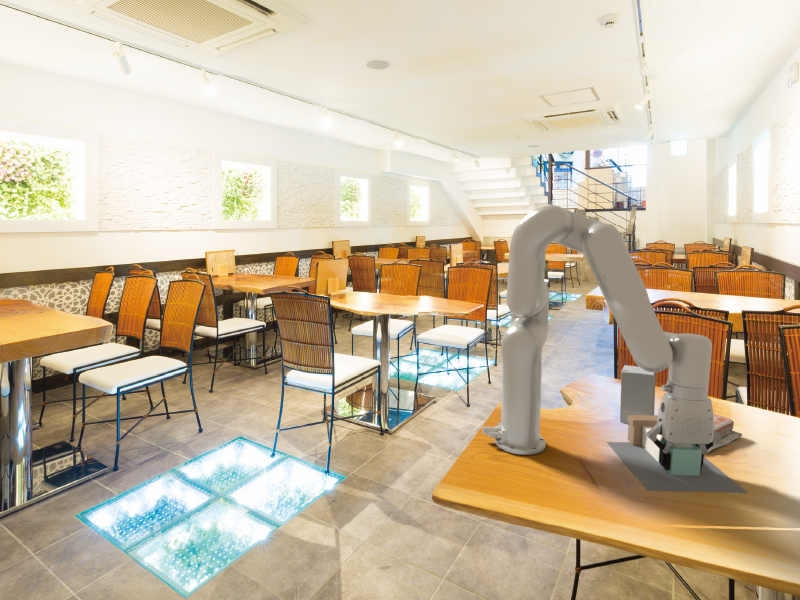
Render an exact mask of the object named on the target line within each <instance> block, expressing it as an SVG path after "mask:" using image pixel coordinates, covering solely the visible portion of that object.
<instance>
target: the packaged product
mask: <svg viewBox="0 0 800 600" xmlns="http://www.w3.org/2000/svg"><path fill="white" fill-rule="evenodd" d="M713 417H714V430H715V431H716V432H717V433H718V434H719V435H720V436H721V439H720V440H718V441H717V442H716V443H714V444H713V446H712V447H711V448H710V449H708V450H707V453H706V454H705V455H707V454H708V453H710V452H711V451H713V450H714V449H718V448H720V447H723V446H727V445H729V444H730V443H732V441H734V440H736V439H740V437H742V435H743V433H741V432H737V431H735V430H733V429H734V421H733V420H732V419H730V417H725V416H722V415H719V414H716V413H715V414H714V413H713Z"/></svg>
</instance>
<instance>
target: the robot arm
mask: <svg viewBox="0 0 800 600" xmlns="http://www.w3.org/2000/svg"><path fill="white" fill-rule="evenodd" d="M519 221H520V222H518V224H517V225H516V226H515V228H514V230H513V233H512V235H511V239H510V242H509V243H510V244H509V253H508V254H509V255H508V268H507V283H506V296H505V297H506V298H505V299H506V301H505V302H506V305H507V308H508V309H509V311H510V312H511V313H510V314H511V315H510V316H511V318H510V321H511V322H510V325H509V326H508V327H507V328H506V330H505V331H504V333H503V335H502V339H501V342H500V343H501V344H500V352H501V414H500V417H501V418H500V420H501V421H498V422H497V423H498V425H494V426H482V431H481V432H482V435H487V436H488V439H489V438H493V439H494V443H495V445H496V446H497V447H498V448H499V449H500V450H502V449H503V450H502V451H504V452H507V453H511V454H514V455H522V456H524V455H525V456H526V455H527V456H529V455H536V454H540V453H541V452H543V451H544V450H545V449H546V445H547V443H546V439H545V438H544V437H542V435H541V434H540V431H541V430H540V428H541V427H540V426H541V407H542V404H541V403H542V401H541V400H542V378H543V377H542V373H543V372H542V371H543V369H542V368H543V367H542V365H543V364H542V361H543V360H542V359H543V357H542V356H543V354H542V353H543V347H544V346H545V344H546V341H547V338H548V327H549V315H550V314H549V313H550V289H549V287H548V284H547V283H546V282H545V270H546V254H547V253H546V252H547V249H548V247H549V246H550V245H551V244H552V243H555V244H557V245H561V246H562V247H565V248H568V249H570V250H572V251H576V252H578V253H581V254H583V255H584V257H585V259H586V261H587V264H588V266H589V268H590V270H591V272H592V273H593V276H594V278H595V281H596V283H597V285H598V287H599V289H600V292H601V294H602V296H603V299H604V300H605V302H606V305H607V307H608V309H609V310H610V313H611V314H612V316H613V318H614V319H615V323H616V324H617V327H618V329H619V331H620V333H621V335H622V337H623V340H624V342H625V344H626V346H627V349H628V350H629V353H630V355H631V357H632V359H633V360H634V361H633V362H634V363H635V364H636V365H637V367H640V368H641V369H643V370H645V371H648V372H656V373H659V372H663V371H664V370H666V369H667V368H668V373H667V374H668V375H667V381H666V384H662V385H661V387H660V388H661V389H660V390H661V391H662V392H664V394H663V396H662V398H661V401H660V405H659V409H658V414H657V415H658V420H657V424H656V425H655V426H654V427H653V428H652V429H651V430H649V431H648V432H647V433H646V436H647V437H648V438H649V439H650V440H651V441H652V442H653V443H654V444H655V445H656V446H657V447H658V448H659V449H660V452H659V463H660V465H661V466H662V467H663V468H664V469H665V470H670V463H671V454H670V453H669V451H670V449H671V447H672V445H673V444H695V445H696V446H698V447H699V448H700V449H701V450H702V456H701V466H700V471H701V470H702V465H703V459H704V457H705V455H707V454H708V453H707V450H708V449H710V448H711V447H712V446H713V444H714V443H716V442H717V441H718V440H720V439H721V436H720V435H719V434H718V433H717V432H716V431H715V430H714V417H713V414H714V408H713V402H712V399H711V398H710V397H708V396H709V395H708V393H709V383H710V374H711V373H710V372H711V363H712V352H713V343H712V341H711V339H710V338H709V337H707V336H705V335H701V334H697V333H686V332H685V333H684V332H683V333H674V332H670V331H669V332H668V331H664V330H663V327H662V326H661V323H660V321H659V319H658V317H657V315H656V312H655V309H654V307H653V305H652V303H651V300H650V296H649V294H648V291H647V288H646V286H645V284H644V281H643V279H642V277H641V275H640V273H639V270H638V269H637V267H636V264H635V262H634V260H633V258H632V256H631V254H630V251H629V250H628V248H627V244H626V243H625V241H624V238H623V237H622V235H621V232H620V231H619V230H618V229H617V227H615V226H614V225H613V224H610V223H607V222H603V221H599V220H596V219H592V218H591V217H588V216H585V215H582V214H580V213H577V212H574V211H572V210H568V209H566V208H564V207H562V206H559V205H556V204H555V205H554V204H551V205H544V206H541V207H539V208H537V209H535V210H533V211H531V212H530V213H528V214H527V215H525V216H524V217H523V218H522V219H521V220H519ZM665 392H666V393H665ZM658 434H659V435H662V437H661V439H660V441H659V440H658V439H657V437H656V436H657V435H658ZM706 453H707V454H706Z"/></svg>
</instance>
